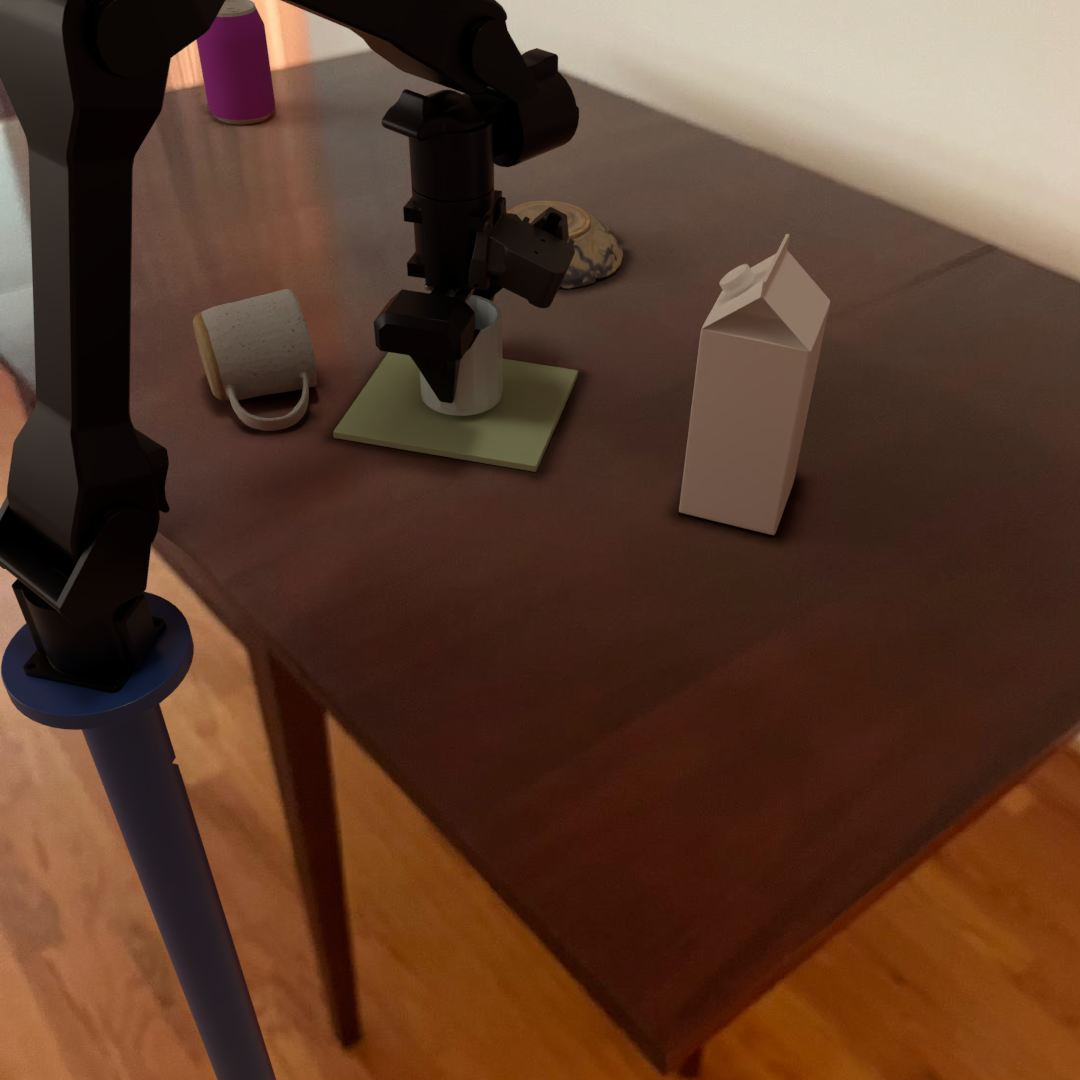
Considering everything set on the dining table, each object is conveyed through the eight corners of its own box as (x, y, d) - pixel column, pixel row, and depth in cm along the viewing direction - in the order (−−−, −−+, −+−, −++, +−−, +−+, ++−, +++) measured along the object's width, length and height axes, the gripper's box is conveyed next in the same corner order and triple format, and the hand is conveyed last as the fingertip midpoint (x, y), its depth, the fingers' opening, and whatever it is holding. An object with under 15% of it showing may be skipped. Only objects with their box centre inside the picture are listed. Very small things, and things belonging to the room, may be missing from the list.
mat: (333, 438, 87) (332, 431, 87) (395, 347, 98) (395, 341, 97) (536, 472, 85) (536, 465, 85) (578, 376, 95) (578, 370, 95)
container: (409, 408, 89) (404, 328, 84) (435, 367, 93) (431, 288, 89) (489, 421, 88) (487, 341, 83) (511, 379, 92) (511, 300, 88)
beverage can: (290, 112, 136) (276, 3, 128) (244, 132, 131) (227, 19, 123) (242, 98, 139) (225, -9, 131) (195, 116, 134) (175, 6, 126)
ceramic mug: (200, 374, 93) (182, 288, 88) (300, 355, 96) (288, 271, 91) (229, 446, 86) (211, 358, 81) (335, 423, 89) (324, 337, 84)
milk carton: (794, 482, 86) (842, 243, 73) (774, 538, 81) (822, 292, 68) (702, 460, 87) (734, 223, 74) (677, 514, 82) (707, 270, 69)
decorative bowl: (442, 240, 113) (518, 303, 104) (441, 203, 111) (518, 265, 102) (570, 211, 120) (652, 269, 110) (572, 176, 117) (656, 232, 108)
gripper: (531, 260, 71) (528, 463, 82) (594, 150, 85) (585, 336, 95) (362, 235, 73) (381, 438, 83) (451, 131, 86) (457, 317, 97)
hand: (459, 379), depth 90 cm, fingers closed on container, 6 cm apart
